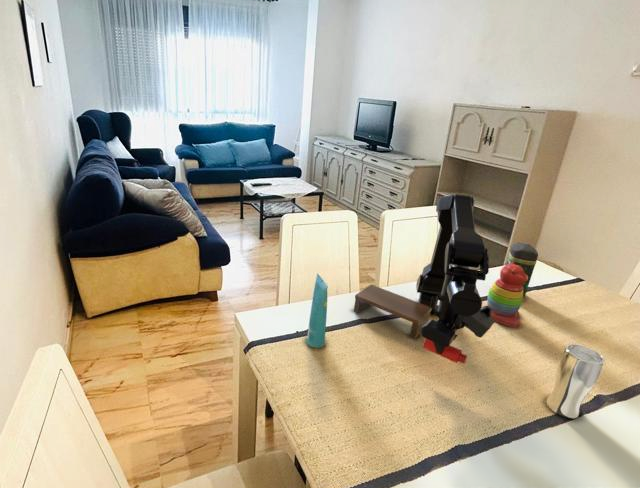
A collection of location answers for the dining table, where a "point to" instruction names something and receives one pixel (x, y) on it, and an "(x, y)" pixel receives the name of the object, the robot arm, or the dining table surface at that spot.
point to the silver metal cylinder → (574, 379)
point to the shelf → (394, 306)
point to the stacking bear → (507, 295)
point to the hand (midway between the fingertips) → (441, 350)
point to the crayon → (446, 352)
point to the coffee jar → (523, 260)
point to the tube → (318, 314)
